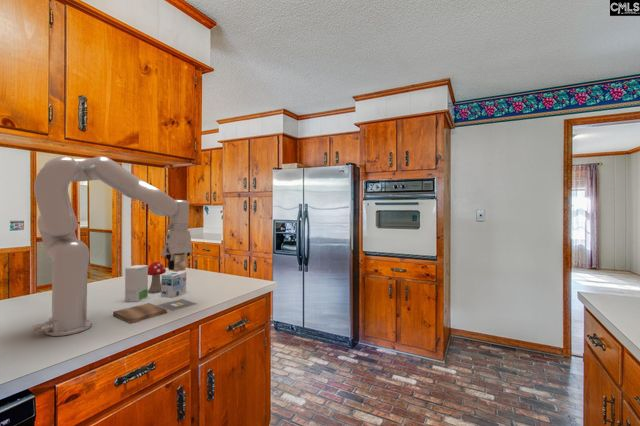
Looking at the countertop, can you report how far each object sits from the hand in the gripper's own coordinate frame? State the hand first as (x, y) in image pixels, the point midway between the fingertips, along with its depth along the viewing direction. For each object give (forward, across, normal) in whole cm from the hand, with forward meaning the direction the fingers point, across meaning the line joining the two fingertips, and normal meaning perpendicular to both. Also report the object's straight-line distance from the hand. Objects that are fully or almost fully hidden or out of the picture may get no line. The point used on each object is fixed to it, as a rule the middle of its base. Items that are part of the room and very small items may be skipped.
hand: (177, 268), depth 137 cm
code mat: (+17, +1, 0) cm, 17 cm away
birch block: (+1, 0, 0) cm, 1 cm away
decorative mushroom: (+17, +7, +29) cm, 34 cm away
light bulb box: (+17, +9, +16) cm, 25 cm away
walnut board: (+17, -15, 0) cm, 23 cm away
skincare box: (+17, -6, +22) cm, 28 cm away
